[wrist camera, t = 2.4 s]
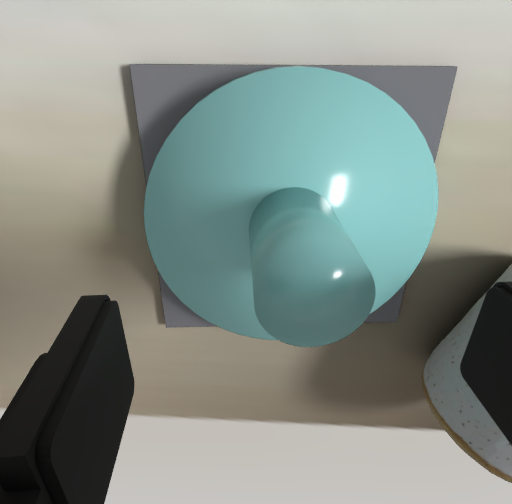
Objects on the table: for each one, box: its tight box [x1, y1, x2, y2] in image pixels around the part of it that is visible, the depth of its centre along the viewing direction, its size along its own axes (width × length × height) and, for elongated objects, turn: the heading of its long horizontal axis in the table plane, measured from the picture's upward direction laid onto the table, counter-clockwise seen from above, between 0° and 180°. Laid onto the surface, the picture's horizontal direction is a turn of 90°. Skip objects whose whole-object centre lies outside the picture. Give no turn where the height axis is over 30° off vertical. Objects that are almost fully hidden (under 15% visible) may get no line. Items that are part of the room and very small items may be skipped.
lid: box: [144, 66, 438, 347], centre depth 14 cm, size 12×12×6 cm
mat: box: [130, 64, 457, 328], centre depth 17 cm, size 12×12×1 cm
